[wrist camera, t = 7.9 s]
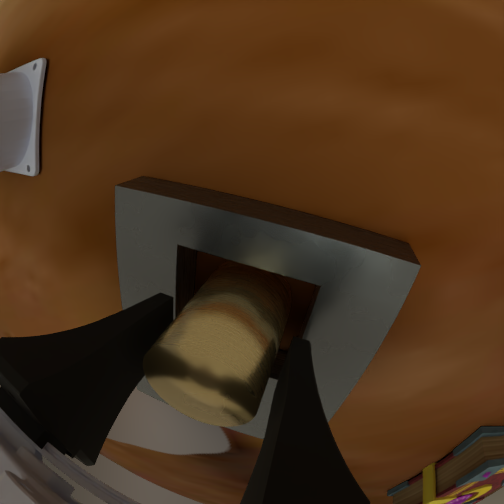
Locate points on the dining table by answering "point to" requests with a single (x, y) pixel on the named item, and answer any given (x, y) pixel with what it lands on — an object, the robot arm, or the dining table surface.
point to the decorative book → (459, 473)
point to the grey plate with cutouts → (271, 259)
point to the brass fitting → (222, 346)
